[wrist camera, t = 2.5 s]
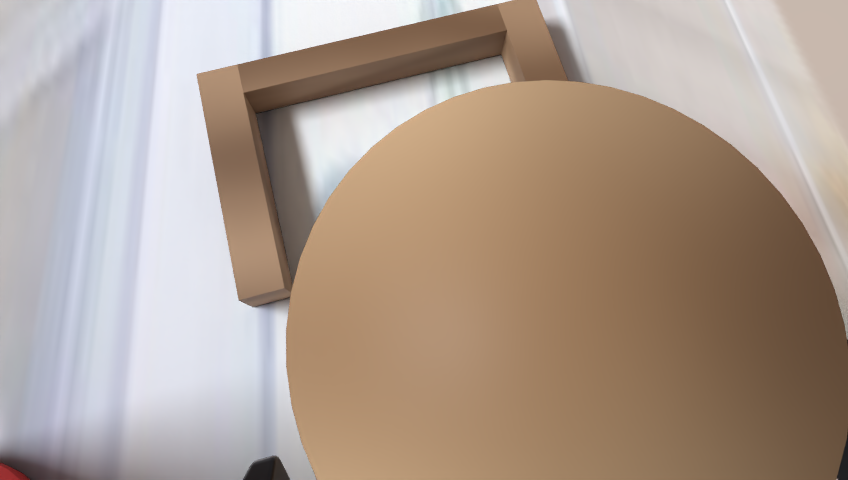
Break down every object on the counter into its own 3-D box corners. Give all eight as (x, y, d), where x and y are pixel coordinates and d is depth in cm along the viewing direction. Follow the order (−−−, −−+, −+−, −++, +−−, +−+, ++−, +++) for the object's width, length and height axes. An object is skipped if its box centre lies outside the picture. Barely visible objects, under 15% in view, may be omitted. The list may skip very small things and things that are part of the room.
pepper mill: (568, 428, 17) (962, 544, 5) (406, 476, 17) (360, 747, 4) (516, 270, 19) (711, 31, 6) (366, 311, 18) (239, 148, 6)
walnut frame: (601, 213, 20) (615, 199, 18) (252, 306, 19) (238, 300, 17) (527, 21, 22) (534, -5, 20) (212, 95, 21) (196, 74, 19)
